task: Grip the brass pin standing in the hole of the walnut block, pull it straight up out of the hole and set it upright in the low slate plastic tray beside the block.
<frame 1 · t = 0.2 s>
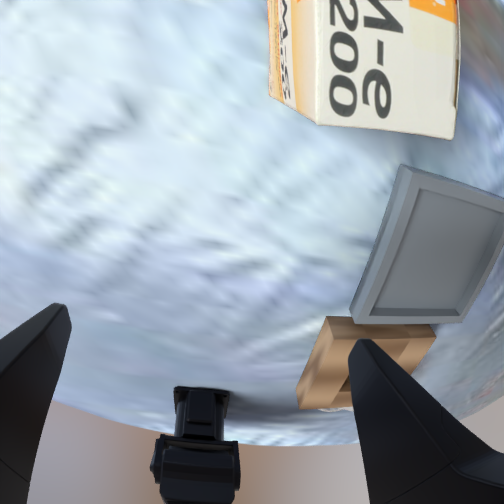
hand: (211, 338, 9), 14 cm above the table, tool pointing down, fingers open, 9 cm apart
pin block: (359, 357, 32), on the table
supplement box: (301, 40, 16), on the table
tray: (436, 252, 25), on the table
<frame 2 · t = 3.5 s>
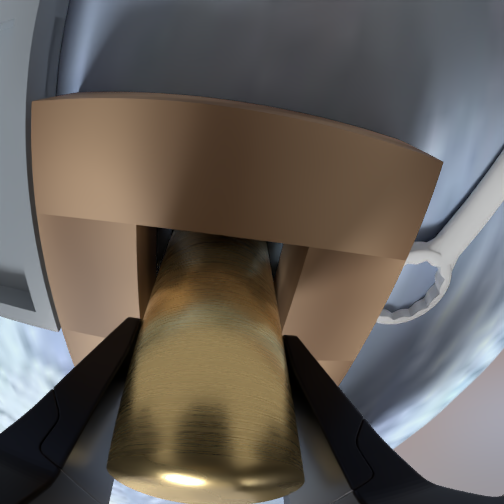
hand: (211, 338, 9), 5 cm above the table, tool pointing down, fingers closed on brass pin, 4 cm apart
brass pin: (211, 336, 9), in the pin block, touching gripper
pin block: (217, 254, 13), on the table
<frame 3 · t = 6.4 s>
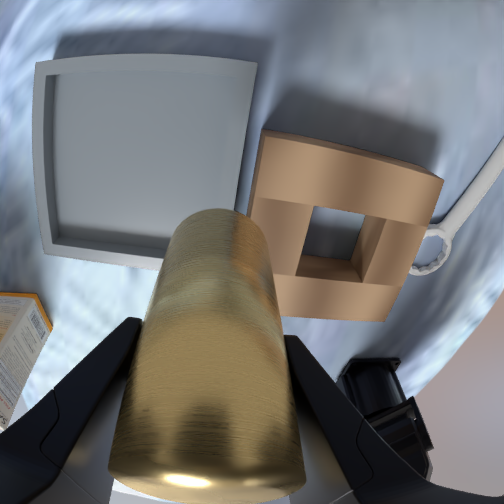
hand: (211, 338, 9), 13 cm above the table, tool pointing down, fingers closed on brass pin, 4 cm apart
brass pin: (212, 336, 9), point 13 cm above the table, touching gripper
pin block: (329, 227, 22), on the table
supplement box: (20, 308, 25), on the table
tray: (133, 160, 19), on the table
wrench: (489, 162, 20), on the table
when the fingers open (7 cm above the table, at t = 9.2 s): brass pin drops 2 cm, resting on tray.
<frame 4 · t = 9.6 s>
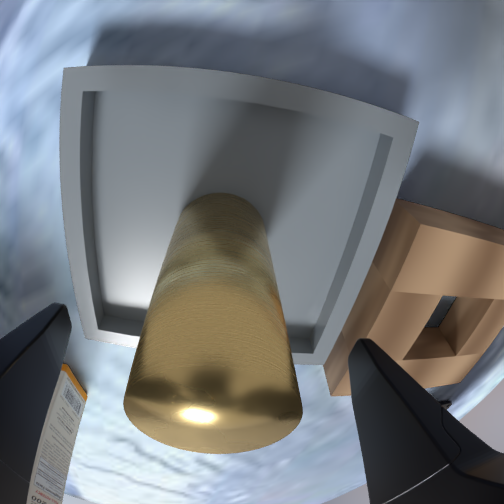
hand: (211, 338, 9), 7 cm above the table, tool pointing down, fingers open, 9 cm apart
brass pin: (216, 298, 10), in the tray, point 5 cm above the table
pin block: (430, 299, 18), on the table
supplement box: (44, 373, 21), on the table
tray: (219, 227, 15), on the table
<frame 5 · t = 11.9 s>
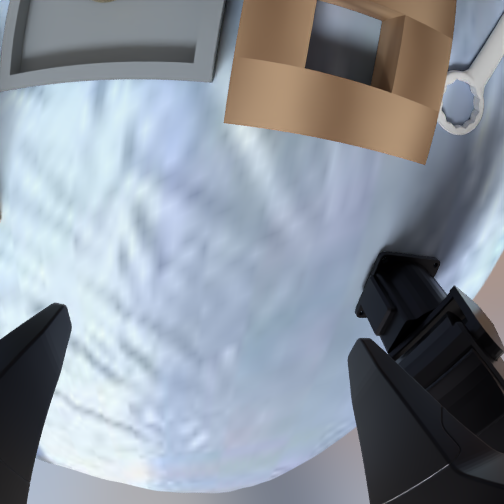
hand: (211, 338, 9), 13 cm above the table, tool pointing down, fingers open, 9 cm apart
pin block: (339, 42, 15), on the table
wrench: (500, 27, 13), on the table
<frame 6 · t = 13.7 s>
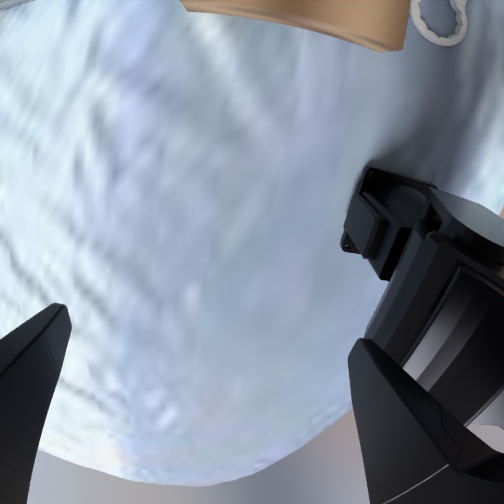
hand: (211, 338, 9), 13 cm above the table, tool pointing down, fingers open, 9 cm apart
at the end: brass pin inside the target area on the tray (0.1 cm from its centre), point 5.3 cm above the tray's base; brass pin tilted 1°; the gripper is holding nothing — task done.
